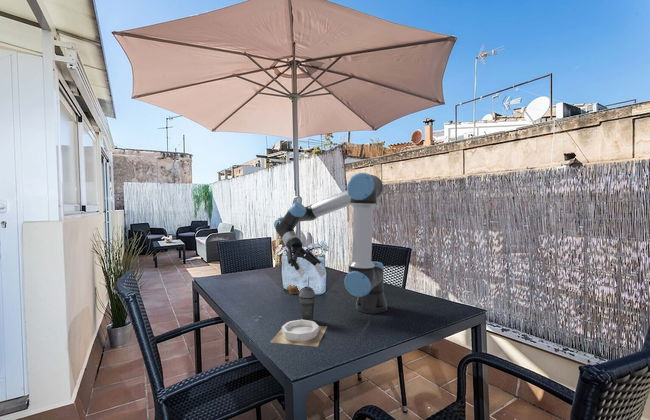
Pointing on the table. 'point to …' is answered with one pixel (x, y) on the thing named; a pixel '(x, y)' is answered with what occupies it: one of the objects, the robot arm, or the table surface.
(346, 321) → the table surface
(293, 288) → the bread roll
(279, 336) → the cork mat
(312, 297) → the beverage cup
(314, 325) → the bowl
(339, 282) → the table surface
